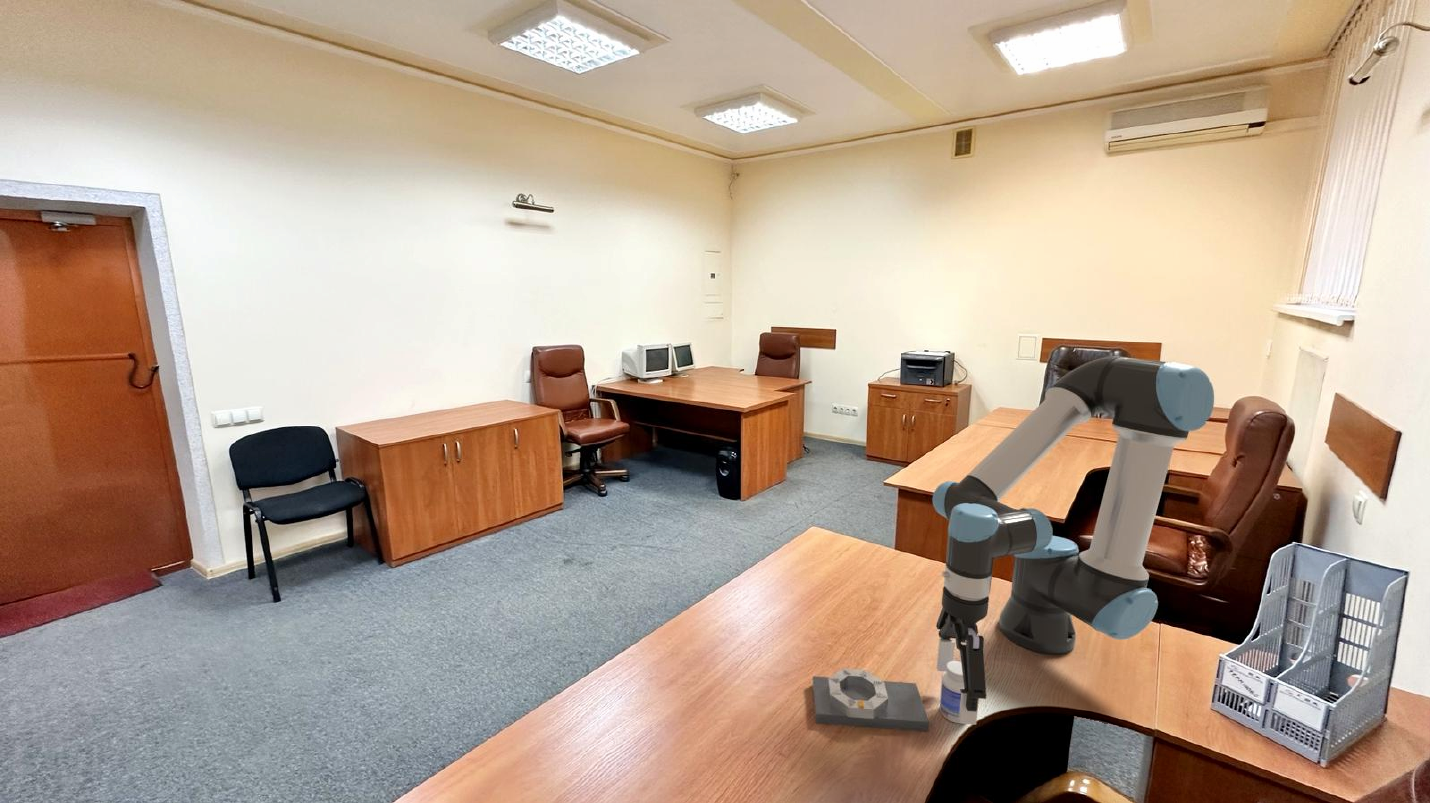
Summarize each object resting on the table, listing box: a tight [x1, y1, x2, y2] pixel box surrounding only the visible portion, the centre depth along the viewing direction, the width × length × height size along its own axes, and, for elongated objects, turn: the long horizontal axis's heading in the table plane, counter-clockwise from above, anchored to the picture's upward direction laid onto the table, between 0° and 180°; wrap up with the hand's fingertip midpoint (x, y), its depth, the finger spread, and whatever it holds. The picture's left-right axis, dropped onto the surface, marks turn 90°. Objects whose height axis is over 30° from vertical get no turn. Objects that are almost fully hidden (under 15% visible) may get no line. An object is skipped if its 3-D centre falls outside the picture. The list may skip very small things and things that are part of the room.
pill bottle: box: [939, 660, 964, 724], centre depth 103 cm, size 5×5×10 cm
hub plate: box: [812, 668, 930, 733], centre depth 106 cm, size 20×10×4 cm, turn 84°
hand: (954, 694), depth 103 cm, fingers open, 13 cm apart
